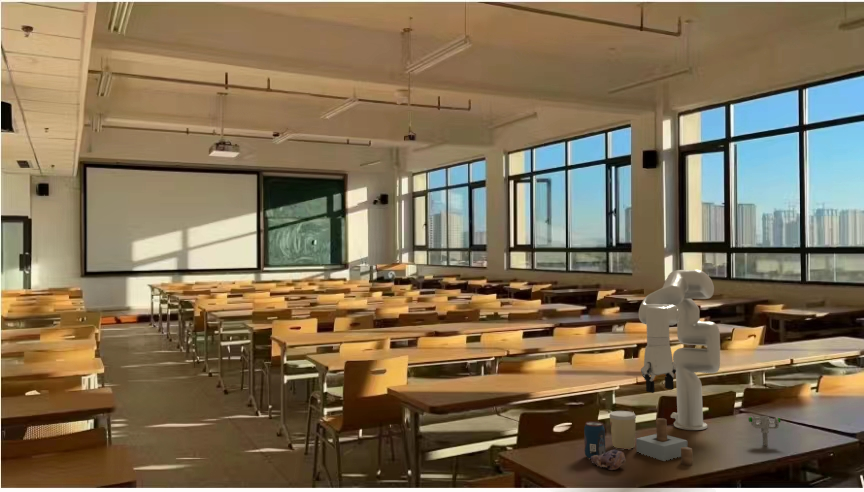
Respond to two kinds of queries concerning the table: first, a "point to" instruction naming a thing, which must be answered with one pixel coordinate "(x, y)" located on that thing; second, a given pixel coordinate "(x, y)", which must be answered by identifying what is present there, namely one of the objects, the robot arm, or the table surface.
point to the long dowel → (661, 429)
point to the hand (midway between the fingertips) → (660, 390)
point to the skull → (609, 459)
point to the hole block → (660, 447)
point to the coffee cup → (623, 429)
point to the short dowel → (686, 456)
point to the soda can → (594, 438)
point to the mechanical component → (764, 425)
